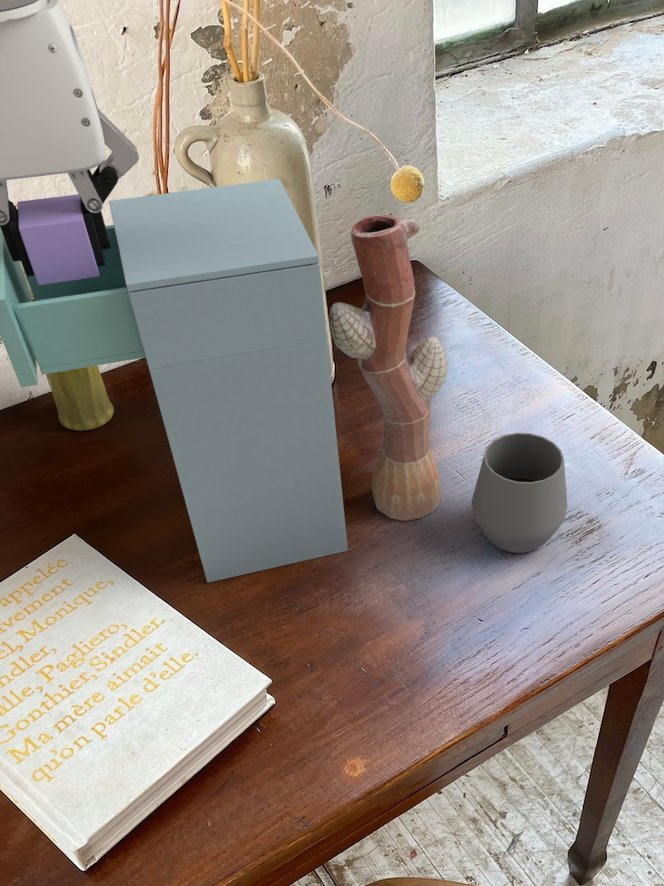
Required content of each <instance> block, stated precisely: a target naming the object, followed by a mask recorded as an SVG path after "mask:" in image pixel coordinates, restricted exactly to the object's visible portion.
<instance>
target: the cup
mask: <svg viewBox="0 0 664 886" xmlns="http://www.w3.org/2000/svg"><path fill="white" fill-rule="evenodd" d="M471 509H472V513H473V517H474V518H473V519H474V521H475V522H476V523H477V525H478V527H479V528H480V530H481V531H482V532H483V534H484V536H485V537H486V538H487V539H488V540H489V543H491V544H492V545H493V546H494V547H496V548H498V549H499V550H500V551H501V550H502V551H505V552H507V553H508V552H509V553H510V554H511V553H513V554H514V553H515V554H525V553H529V552H534V551H536V550H537V549H539V548H541V547H542V546H544V545H545V544H546V543H547V542H548V541H549V540H550V538H552V536H554V535H555V534H556V532H557V531H558V530H559V529H560V527H561V526H562V525H563V524H564V522H565V520H566V515H567V510H568V495H567V481H566V469H565V458H564V455H563V452H562V450H561V449H560V447H558V445H557V444H556V443H555V442H553V441H552V440H550V439H548V438H547V437H545V436H542V435H538V434H535V433H531V432H513V433H509V434H503V435H501V436H499V437H498V438H495V439H493V440H492V441H491V442H490V443H489V444H488V445H487V446H486V447H485V451H484V454H483V457H482V460H481V464H480V468H479V472H478V476H477V480H476V483H475V488H474V491H473V494H472V498H471Z"/></svg>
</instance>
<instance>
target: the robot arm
mask: <svg viewBox="0 0 664 886" xmlns="http://www.w3.org/2000/svg"><path fill="white" fill-rule="evenodd" d="M91 83H92V82H91V80H90V77H89V73H88V71H87V67H86V64H85V60H84V57H83V53H82V51H81V48H80V45H79V42H78V40H77V37H76V34H75V31H74V28H73V26H72V24H71V20H70V19H69V16H68V14H67V11H66V8H65V7H64V4H63V3H62V0H0V228H1V231H2V233H3V236H4V239H5V242H6V244H7V247H8V250H9V253H10V255H11V258H12V260H13V262H15V261H20V262H21V261H22V264H23V266H22V268H23V267H24V269H25V272H26V275H27V277H28V276H35V274H34V271H33V268H32V265H31V263H30V260H29V257H28V254H27V251H26V248H25V245H24V242H23V239H22V237H21V234H20V231H19V224H18V207H17V206H16V205H15V204H14V202H13V201H11V200H10V198H9V191H8V182H7V181H11V180H19V179H30V178H37V177H44V176H53V175H63V174H67V175H68V177H69V179H70V181H71V182H72V185H73V186H74V189H75V190H76V192H77V194H79V196H80V202H81V207H82V214H83V219H84V222H85V226H86V229H87V233H88V236H89V240H90V243H91V246H92V250H93V253H94V257H95V260H96V264H97V265H98V267H99V266H105V261H104V256H103V250H102V249H110V248H111V246H110V242H109V238H108V234H107V230H106V227H105V226H106V223H105V220H104V216H103V213H102V212H103V211H102V210H103V208H104V203H105V202H106V200H107V199H108V197H109V196H110V195H111V193H112V192H113V190H114V189H115V187H116V186H117V184H118V182H119V180H120V179H121V178H123V177H124V176H125V175H126V174H127V173H128V172H129V171H130V170H131V169H132V168H133V167H134V166H135V165H137V163H138V162H139V159H140V155H139V152H138V148H137V146H136V145H135V144H134V143H133V142H132V141H131V140H130V139H129V138H128V137H127V136H126V134H124V132H123V131H121V130H120V129H119V128H118V127H117V126H116V125H115V124H114V123H113V122H112V120H110V119H109V118H108V117H107V116H106V115H105V114H104V113H103V112H102V110H100V109H99V108H98V107H99V106H98V104H97V100H96V97H95V93H94V89H93V87H92V84H91ZM106 147H107V148H108V149H109V150H110V151H111V153H110V154H109V155H108V156H107V148H106ZM92 169H95V170H94V172H92V171H91V170H92ZM22 264H21V265H22ZM24 269H23V270H24ZM25 272H24V273H25ZM26 275H25V276H26Z"/></svg>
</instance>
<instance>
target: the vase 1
mask: <svg viewBox="0 0 664 886" xmlns="http://www.w3.org/2000/svg"><path fill="white" fill-rule="evenodd" d="M34 301H35V299H34V297H33V295H32V302H34ZM101 374H102V373H101V372H100V368H99V365H97V366H91V367H85V368H79V369H73V370H67V371H61V372H55V373H49V374H45V376H46V379H47V382H48V386H49V387H50V391H51V394H52V396H53V400H54V403H55V407H56V409H57V410H56V411H57V414H58V420H59V423H60V424H61V425H62V426H63V427H64V428H65V429H68V430H71V431H76V432H86V431H92V430H95V429H98V428H101V427H102V426H104V425H106V424H108V423H109V422H110V421H111V420H112V418H113V416H114V414H115V409H114V408H115V407H114V405H113V403H112V402H111V400H110V398H109V396H108V392H107V390H106V386H105V383H104V381H103V377H102V375H101Z"/></svg>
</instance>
